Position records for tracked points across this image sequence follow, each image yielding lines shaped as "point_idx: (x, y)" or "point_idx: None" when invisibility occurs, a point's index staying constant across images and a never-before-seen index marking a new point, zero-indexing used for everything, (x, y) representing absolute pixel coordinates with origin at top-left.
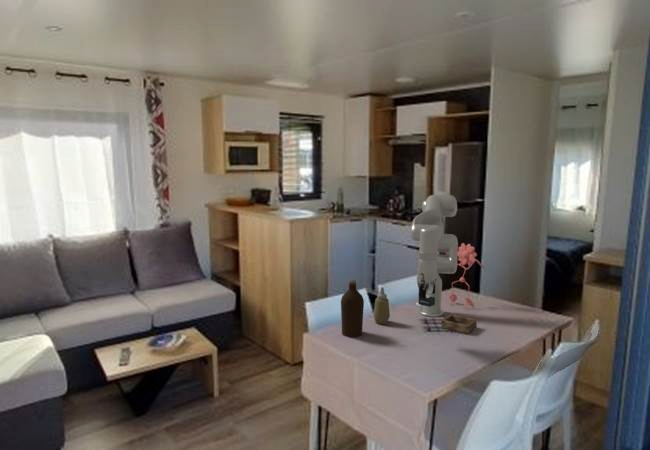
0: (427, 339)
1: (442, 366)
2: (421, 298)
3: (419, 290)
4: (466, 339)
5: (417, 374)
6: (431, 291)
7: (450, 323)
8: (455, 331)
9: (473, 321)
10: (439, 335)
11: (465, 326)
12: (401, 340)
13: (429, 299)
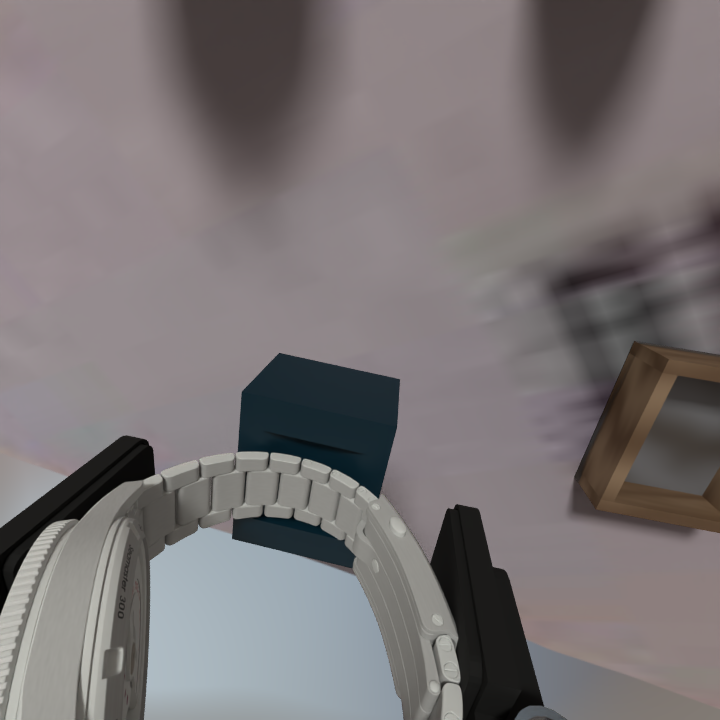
0: (415, 317)
1: (173, 442)
2: (241, 429)
3: (16, 532)
4: (506, 479)
5: (51, 381)
6: (376, 602)
7: (636, 413)
8: (600, 421)
9: (706, 524)
10: (505, 358)
11: (600, 495)
12: (323, 186)
13: (243, 530)
